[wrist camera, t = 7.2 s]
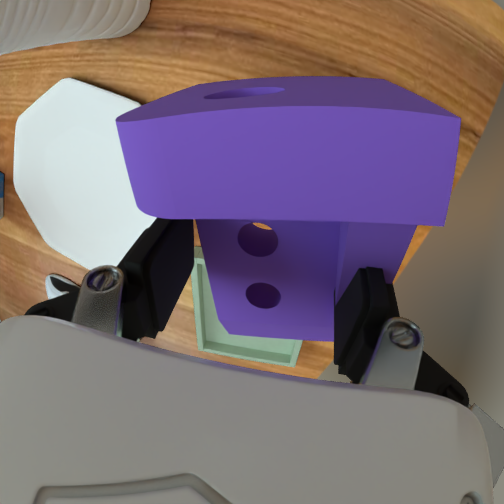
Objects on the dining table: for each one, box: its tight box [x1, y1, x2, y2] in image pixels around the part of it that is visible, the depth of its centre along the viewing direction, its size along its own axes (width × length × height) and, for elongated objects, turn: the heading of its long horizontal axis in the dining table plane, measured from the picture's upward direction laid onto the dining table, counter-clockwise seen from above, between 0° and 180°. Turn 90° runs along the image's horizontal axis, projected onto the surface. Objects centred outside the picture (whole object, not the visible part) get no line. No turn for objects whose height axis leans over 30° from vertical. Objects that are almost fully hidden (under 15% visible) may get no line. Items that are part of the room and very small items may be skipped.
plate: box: [14, 78, 157, 270], centre depth 32 cm, size 24×24×2 cm
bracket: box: [115, 76, 461, 341], centre depth 11 cm, size 12×7×7 cm, turn 6°
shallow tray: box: [191, 246, 303, 367], centre depth 38 cm, size 14×17×2 cm
